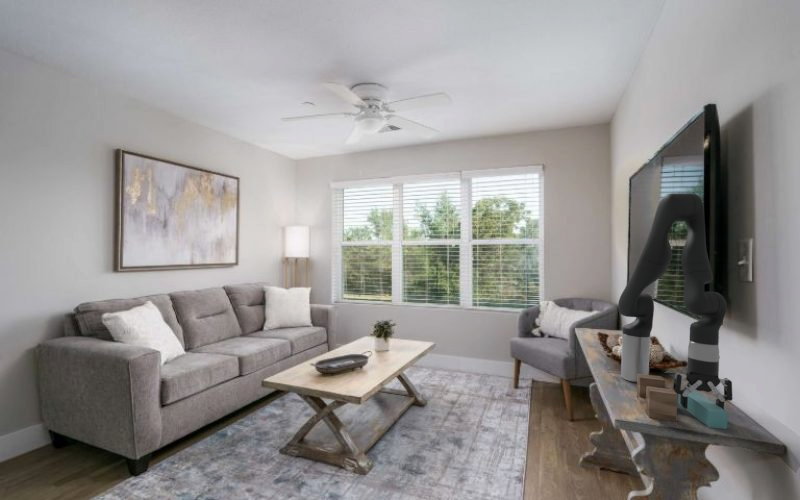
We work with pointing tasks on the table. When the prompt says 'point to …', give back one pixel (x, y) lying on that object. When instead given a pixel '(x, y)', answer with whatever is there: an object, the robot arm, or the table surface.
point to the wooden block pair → (656, 397)
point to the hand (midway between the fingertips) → (701, 410)
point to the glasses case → (706, 410)
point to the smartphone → (670, 372)
